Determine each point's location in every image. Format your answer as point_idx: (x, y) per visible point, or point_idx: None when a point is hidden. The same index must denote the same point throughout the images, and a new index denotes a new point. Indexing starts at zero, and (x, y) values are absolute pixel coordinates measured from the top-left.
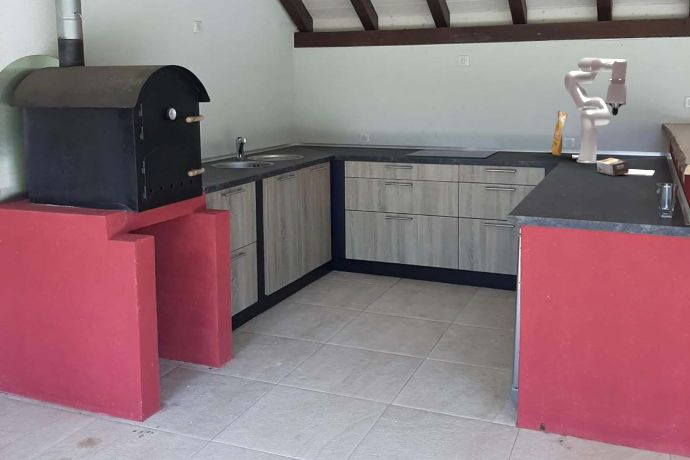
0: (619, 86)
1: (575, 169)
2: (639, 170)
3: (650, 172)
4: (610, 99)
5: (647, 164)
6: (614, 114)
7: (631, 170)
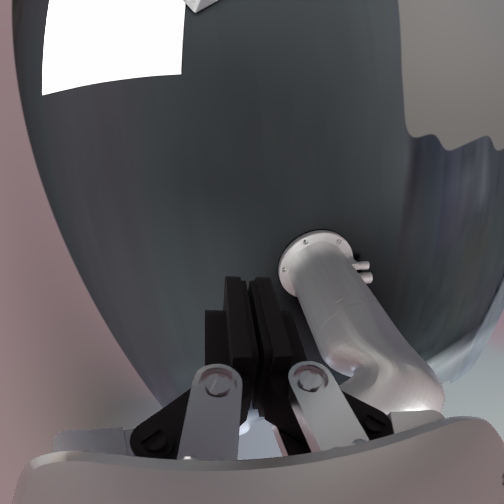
0: None
1: (346, 31)
2: (89, 66)
3: (52, 38)
4: (454, 485)
5: (116, 299)
6: (244, 283)
7: (118, 46)
